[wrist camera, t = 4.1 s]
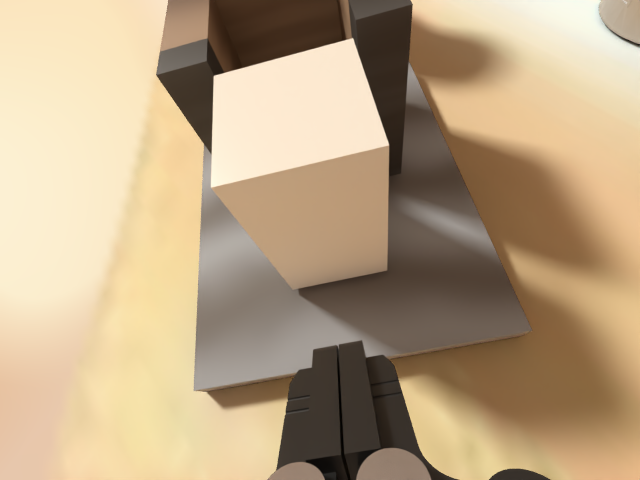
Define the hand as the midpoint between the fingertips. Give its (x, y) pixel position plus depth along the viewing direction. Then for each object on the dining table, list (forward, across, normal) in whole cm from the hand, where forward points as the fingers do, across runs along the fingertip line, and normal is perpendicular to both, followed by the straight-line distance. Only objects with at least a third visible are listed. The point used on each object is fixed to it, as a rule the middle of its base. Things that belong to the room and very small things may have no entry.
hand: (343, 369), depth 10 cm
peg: (+9, 0, -2) cm, 9 cm away
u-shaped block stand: (+12, 0, -3) cm, 13 cm away
